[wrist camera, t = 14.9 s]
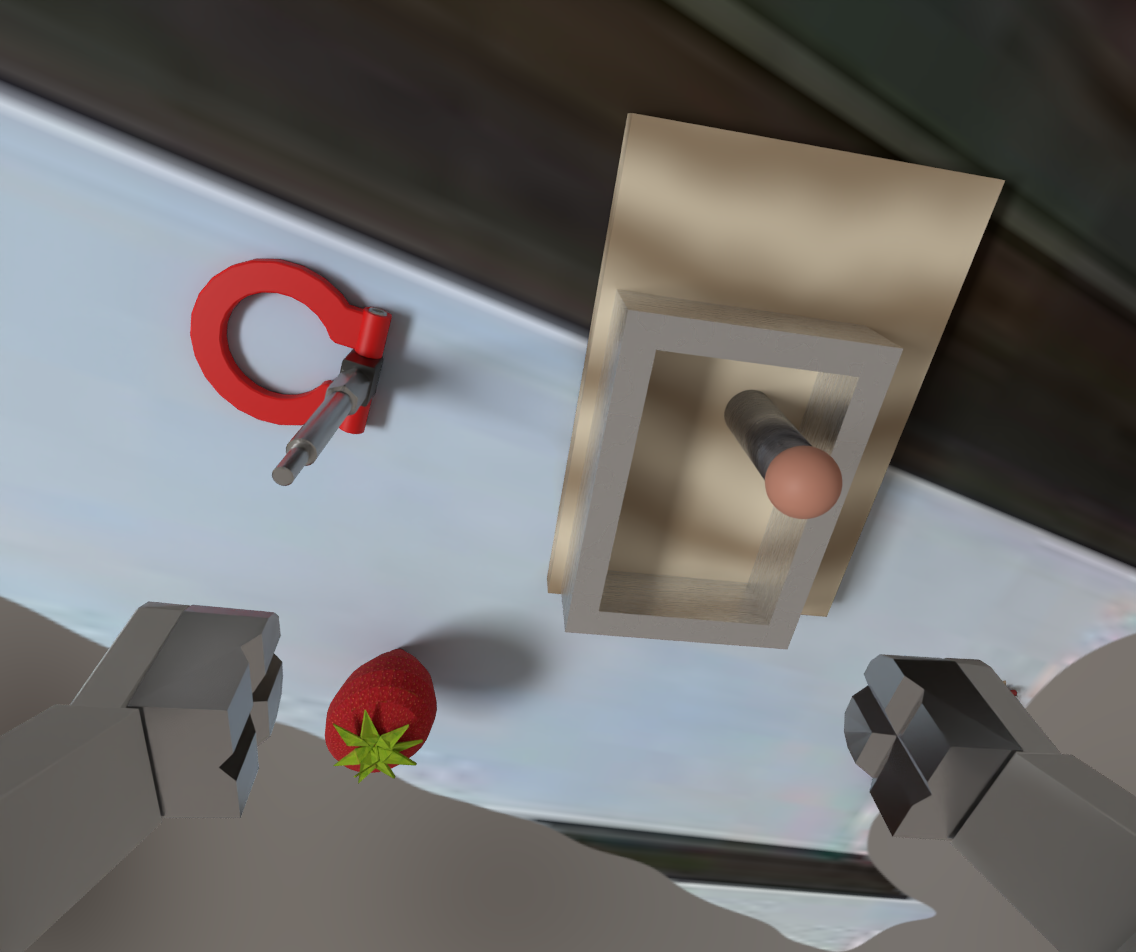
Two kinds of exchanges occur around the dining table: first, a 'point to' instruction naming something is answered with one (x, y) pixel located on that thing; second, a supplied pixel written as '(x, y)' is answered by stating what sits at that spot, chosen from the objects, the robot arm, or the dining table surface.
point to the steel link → (789, 546)
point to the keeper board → (776, 284)
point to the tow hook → (314, 410)
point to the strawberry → (381, 714)
